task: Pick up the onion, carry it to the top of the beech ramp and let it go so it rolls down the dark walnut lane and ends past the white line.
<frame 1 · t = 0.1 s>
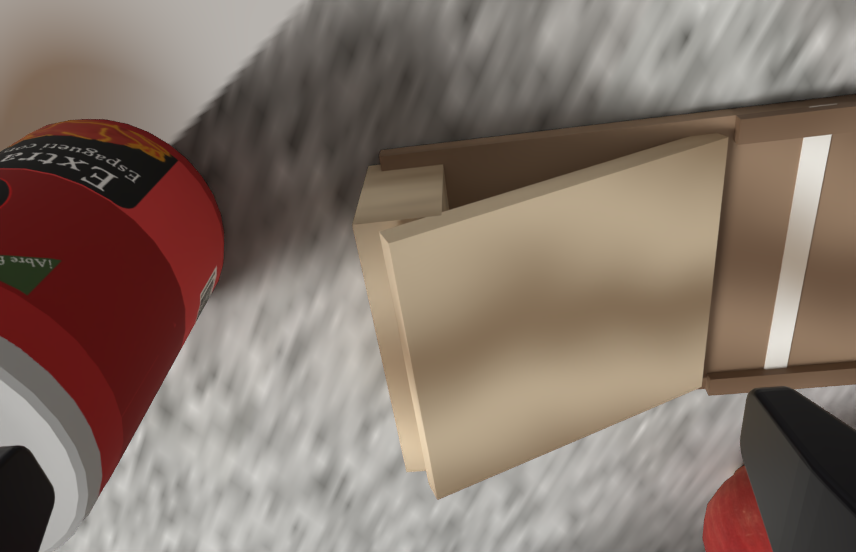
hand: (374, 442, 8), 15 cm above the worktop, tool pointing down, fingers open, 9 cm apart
canned food: (126, 218, 24), on the worktop
onion: (747, 465, 29), on the worktop
ramp: (556, 275, 24), resting on lane
lane: (727, 258, 23), on the worktop
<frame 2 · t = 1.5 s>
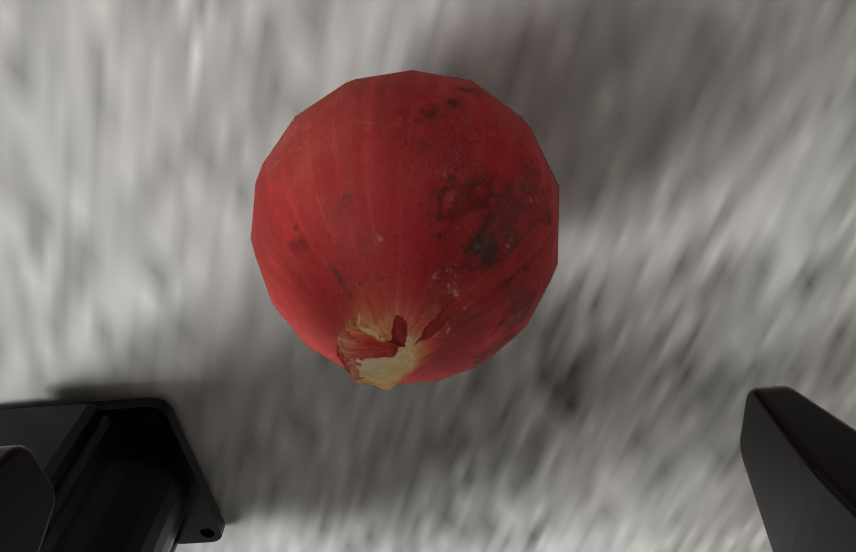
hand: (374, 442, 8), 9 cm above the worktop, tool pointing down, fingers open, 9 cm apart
onion: (418, 151, 16), on the worktop
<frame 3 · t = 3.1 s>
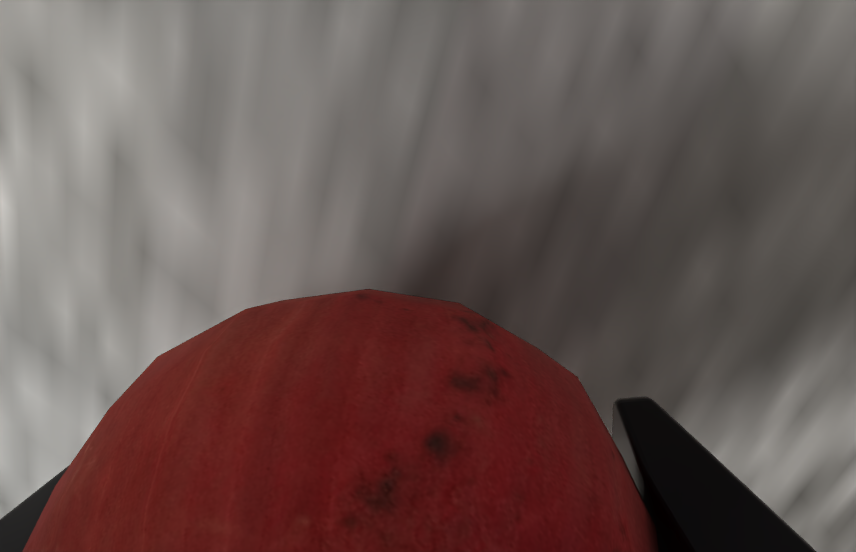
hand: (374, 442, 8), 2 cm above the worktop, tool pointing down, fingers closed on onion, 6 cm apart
onion: (388, 341, 10), on the worktop, touching gripper
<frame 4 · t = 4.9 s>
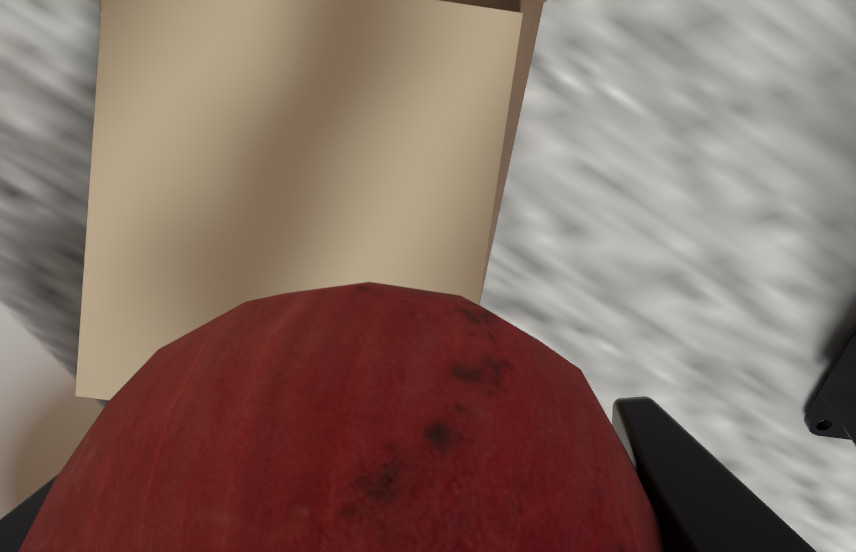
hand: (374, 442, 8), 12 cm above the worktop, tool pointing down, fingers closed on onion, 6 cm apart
onion: (390, 336, 10), point 10 cm above the worktop, touching gripper
ramp: (315, 166, 19), resting on lane
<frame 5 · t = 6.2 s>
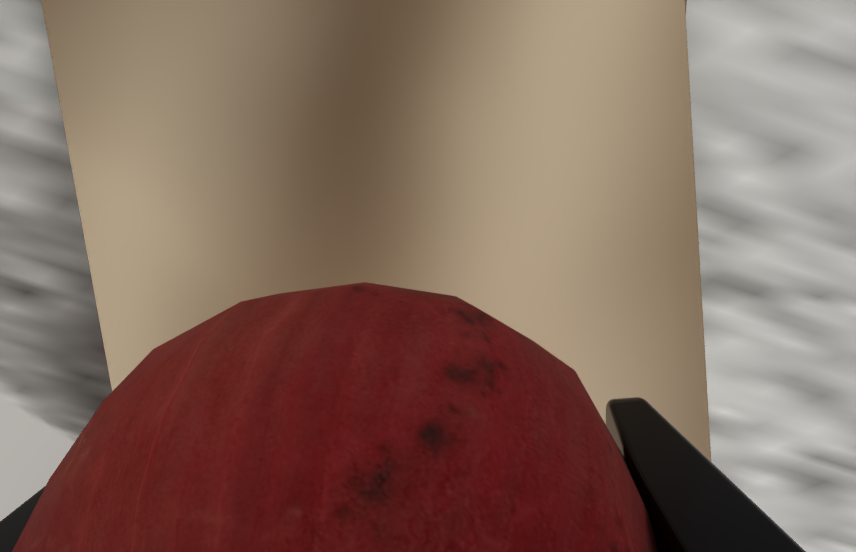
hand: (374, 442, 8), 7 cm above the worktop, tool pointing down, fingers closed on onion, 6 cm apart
onion: (386, 336, 10), point 5 cm above the worktop, touching gripper
ramp: (394, 156, 14), resting on lane
when the fingers open (7 cm above the worktop, at t = 6.6 s): onion moves 18 cm, resting on lane.
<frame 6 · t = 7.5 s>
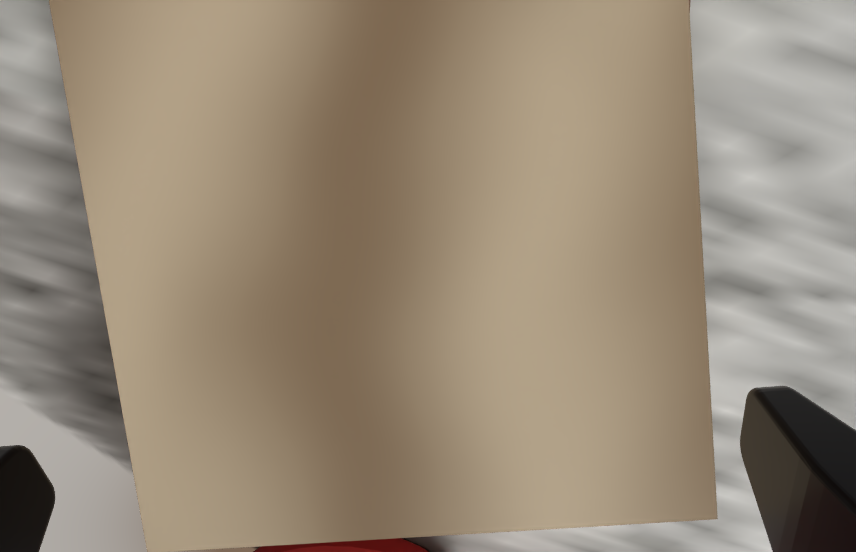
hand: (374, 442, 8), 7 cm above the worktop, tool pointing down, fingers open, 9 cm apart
ramp: (398, 155, 14), resting on lane
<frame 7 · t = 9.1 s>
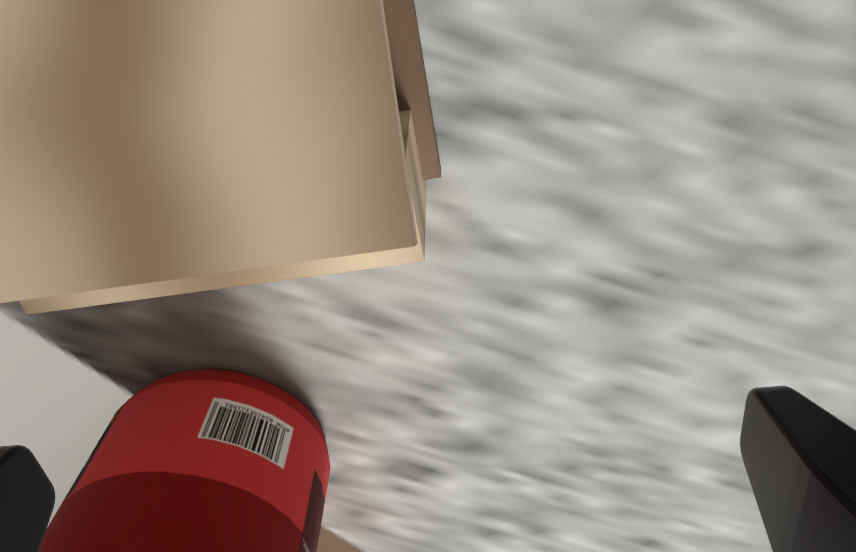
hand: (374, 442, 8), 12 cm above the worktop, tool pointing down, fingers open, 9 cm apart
canned food: (227, 437, 25), on the worktop
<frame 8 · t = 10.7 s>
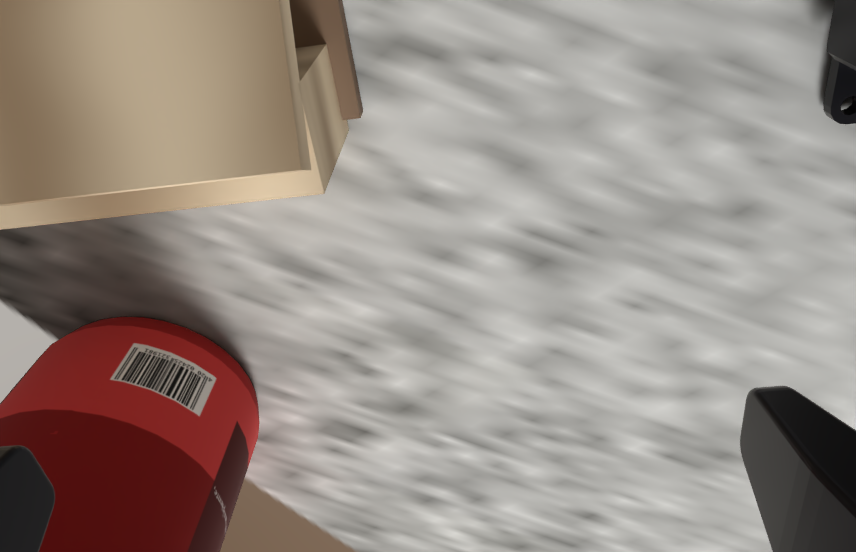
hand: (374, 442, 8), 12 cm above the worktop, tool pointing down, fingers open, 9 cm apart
canned food: (158, 390, 24), on the worktop
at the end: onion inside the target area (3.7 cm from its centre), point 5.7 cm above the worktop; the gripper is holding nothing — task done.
